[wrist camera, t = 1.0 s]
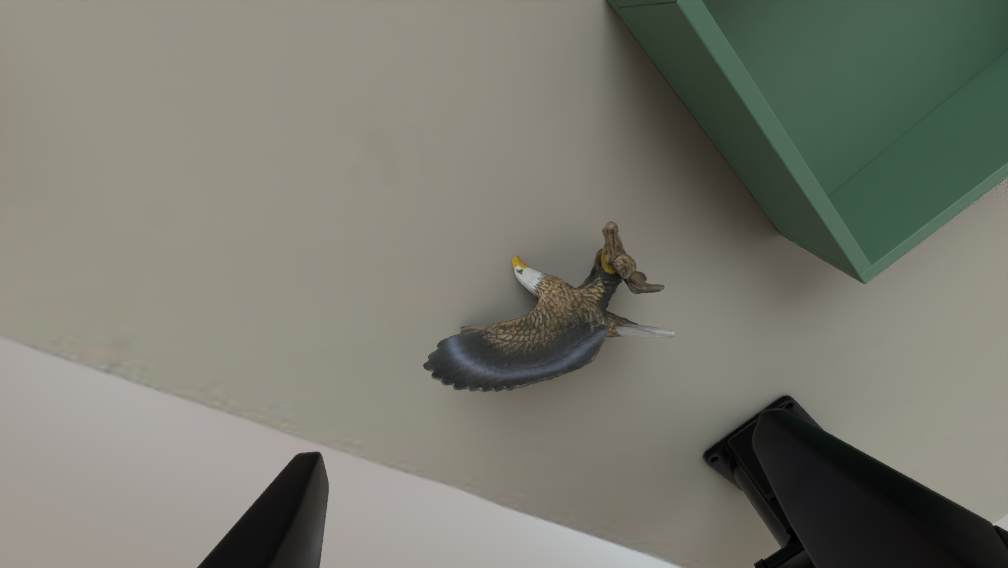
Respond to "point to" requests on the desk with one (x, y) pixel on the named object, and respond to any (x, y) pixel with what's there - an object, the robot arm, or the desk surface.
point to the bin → (843, 110)
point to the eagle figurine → (546, 327)
